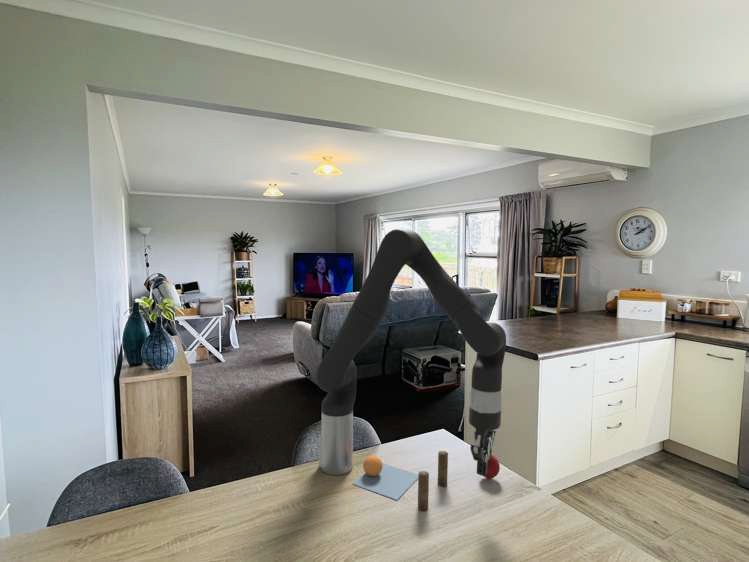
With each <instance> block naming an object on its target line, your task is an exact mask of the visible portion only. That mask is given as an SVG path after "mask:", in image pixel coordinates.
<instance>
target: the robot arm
mask: <svg viewBox="0 0 749 562" xmlns="http://www.w3.org/2000/svg"><path fill="white" fill-rule="evenodd" d="M380 242H381V243H380V245H379V246H378V250H377V253H376V255H375V258H374V261H373V262H372V265H371V268H370V270H369V273H368V275H367V277H366V278H365V280H364V281H363V284H362V286H361V288H360V290H359V292H358V293H357V295H356V297H355V299H354V301H353V303H352V305H351V307H350V309H349V310H348V312H347V315H346V317H345V319H344V322H343V323H342V325H341V327H340V329H339V331H338V333H337V335H336V337H335V339H334V341H333V342H332V344H331V346H330V347H329V350H328V351H327V352H326V354H325V355H324V356H323V358H322V359H321V361H320V362H319V364H318V367H317V368H316V374H315V379H316V384H317V386H318V387H319V388H320V389H321V390H322V391H323V392H326V393H327V394H326V396H325V397H324V398H323V399H322V402H321V434H319V436H318V467H319V468H321V470H322V471H323V472H324V473H325V474H329V475H331V476H332V475H334V476H339V475H344V474H347V473H349V472H351V470H352V469H353V465H354V464H353V461H354V456H353V453H354V452H353V451H354V450H353V449H354V404H355V402H356V396H357V385H358V384H357V380H358V371H357V366H356V363H355V361H354V360H353V359H354V358H355V356H356V355H357V354H358V353H359V352H360V351H361V349H362V348H363V347H365V345H366V344H367V343H368V342H369V341H370V340H371V338H372V337H373V336H374V335H375V333H376V332H377V330H378V329H379V328H380V325H381V324H382V322H383V320H384V318H385V316H386V314H387V311H388V309H389V304H390V303H389V302H390V298H391V297H390V295H391V291H392V287H393V284H394V282H395V280H396V279H397V277H398V276H399V274H400V272H401V270H402V269H403V268H404V267H405V266H406V265H407V266H408V268H410V269H411V270H412V271H414V272H415V273H416V274H417V275H418V276H419V277H420V278H421V280H422V281H423V282H424V283H425V285H426V286H427V288H428V290H429V293H431V295H432V297H433V300H434V301H435V302H436V304H437V306H439V307H440V309H441V310H442V311H443V312H444V313H445V315H446V316H448V318H449V319H450V320H451V321H452V322H453V323H454V324H455V325H456V326H457V327H456V328H458V331H459V332H460V334H461V335H462V337H463V338H464V340H465V341H466V343H467V344H468V346H470V347H471V349H472V350H473V351H474V352H475V353H476V358H475V359H476V360H475V362H474V364H473V366H472V371H471V387H470V391H469V392H470V393H469V403H468V404H469V405H468V423H469V425H470V426H472V427H473V428H474V429H475V431H474V433H473V443H474V444H471V445H470V449H469V450H470V453H471V455H472V459H473V461H475V462H476V474H477V475H479V476H481V477H484V476H485V475H486V474H487V467H488V460H487V459H489V454H491V452H492V451H493V450H492V449H493V446H494V441H495V436H496V433H497V431H496V430H498V429H499V428H501V422H502V404H503V403H502V402H503V396H502V384H503V381H502V380H503V364H504V360H505V355H506V348H507V335H506V331H505V330H504V328H503V327H502V326H501V325H500V324H498V323H496V322H487V321H486V319H484V317H483V316H482V314H481V313H480V312H479V311H480V308H479V307H478V305H477V303H476V302H475V301H474V300H472V299H471V297H470V296H469V295H468V294H467V293H466V292H465V290H463V288H461V287H460V286H459V285H458V283H456V281H455V280H454V279H453V278H452V276H450V275H449V273H447V271H446V270H445V268H444V267H442V265H441V264H440V263H439V261H438V260H437V259H436V257H435V256H434V255H433V253H432V251H431V249H429V247H428V246H427V244H426V243H425V240H423V238H422V237H421V236H420V235H419V233H417V232H416V231H414V230H411V229H406V228H405V229H404V228H395V229H392V230H390V231H388V232H387V233H386V234H385V236H384V237H383V238H382V240H381V241H380ZM492 453H493V452H492Z"/></svg>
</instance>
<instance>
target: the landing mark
mask: <svg viewBox="0 0 749 562" xmlns="http://www.w3.org/2000/svg"><path fill="white" fill-rule="evenodd" d="M417 481H418V473H414V472H411V471H408V470H405V469H403V468H399V467H396V466H393V465H389V464H386V463H383V462H382V471H381V472H380V473H379V474H378V475H377V476H369V475H367V474H366V473H365V472H364V473H363V474H362V475H361V476H360V477H358V479H355V481H353V482H352V485H354V486H356V487H359V488H362V489H363V490H364V489H365V490H367V491H370V492H373V493H375V494H378V495H381V496H383V497H386V498H389V499H391V500H395V501H398V500H400V498H401V497H402V496H403V495H404V494H405V493H406V492H407V491H408V490H409V489H410V488H411V487H412V485H414V484H415V482H417Z"/></svg>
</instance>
